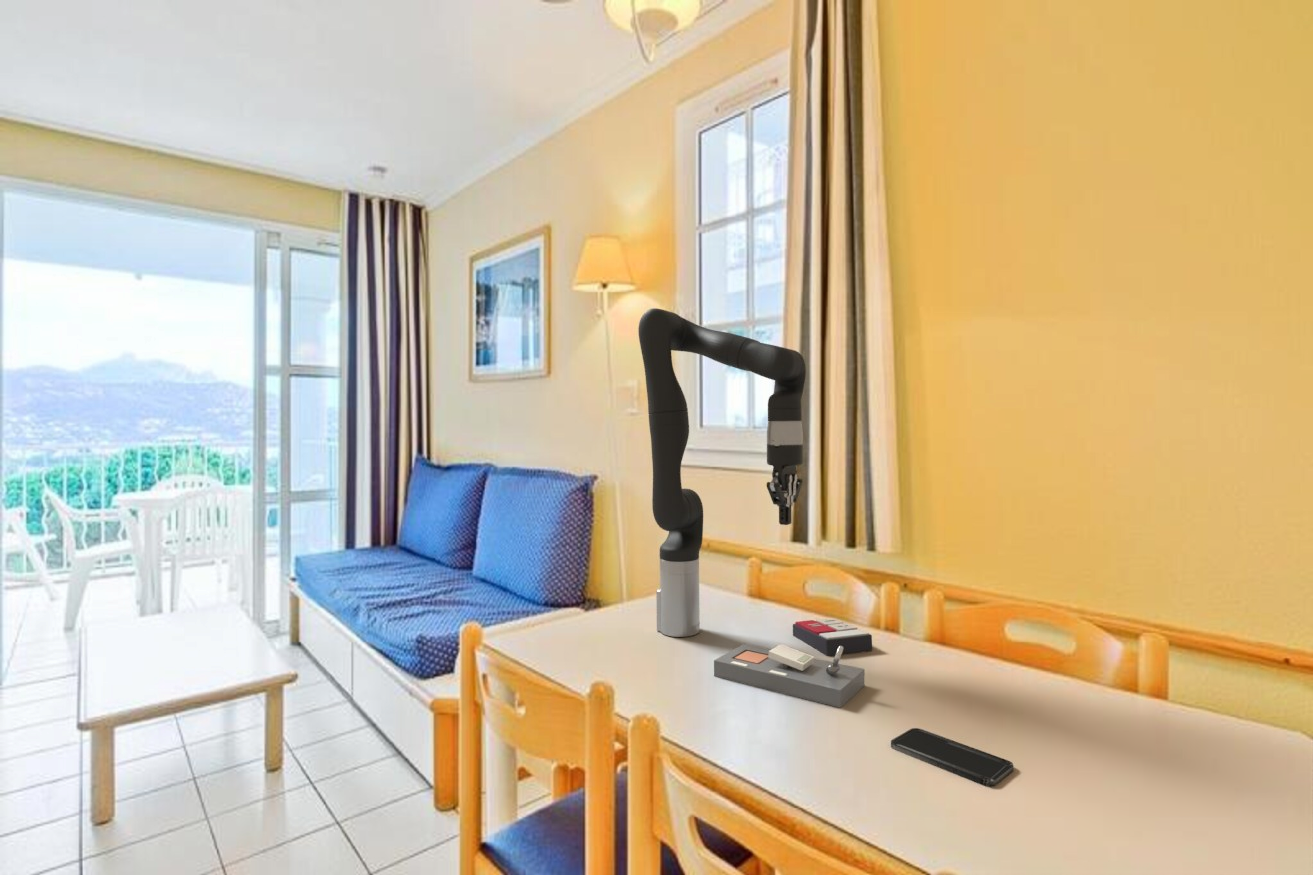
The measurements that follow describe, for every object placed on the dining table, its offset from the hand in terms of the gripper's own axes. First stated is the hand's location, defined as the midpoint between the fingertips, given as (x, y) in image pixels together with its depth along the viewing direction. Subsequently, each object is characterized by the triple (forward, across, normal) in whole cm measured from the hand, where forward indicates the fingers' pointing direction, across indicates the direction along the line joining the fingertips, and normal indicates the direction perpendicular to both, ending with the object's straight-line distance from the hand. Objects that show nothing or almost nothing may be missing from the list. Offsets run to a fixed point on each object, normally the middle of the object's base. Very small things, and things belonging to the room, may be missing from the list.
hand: (785, 524), depth 140 cm
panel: (+27, +15, +8) cm, 32 cm away
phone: (+28, +28, +39) cm, 55 cm away
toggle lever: (+24, +15, +16) cm, 33 cm away
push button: (+27, +15, 0) cm, 31 cm away
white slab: (+24, +15, +8) cm, 29 cm away
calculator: (+28, -11, +6) cm, 30 cm away
